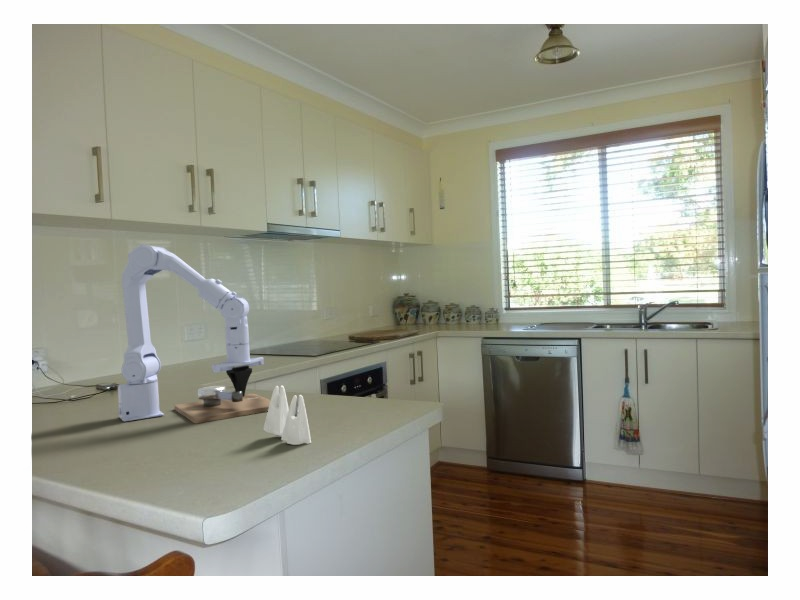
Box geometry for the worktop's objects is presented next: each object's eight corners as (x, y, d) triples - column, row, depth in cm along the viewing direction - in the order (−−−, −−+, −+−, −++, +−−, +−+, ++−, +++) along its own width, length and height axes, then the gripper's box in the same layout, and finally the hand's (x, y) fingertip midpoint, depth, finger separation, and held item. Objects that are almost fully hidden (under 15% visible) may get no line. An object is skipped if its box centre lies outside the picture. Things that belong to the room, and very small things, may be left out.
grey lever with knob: (193, 398, 150) (192, 389, 150) (216, 393, 155) (215, 384, 155) (228, 404, 139) (227, 394, 139) (252, 398, 145) (251, 389, 145)
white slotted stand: (262, 438, 118) (259, 385, 118) (279, 433, 121) (277, 382, 121) (295, 447, 110) (292, 391, 109) (312, 442, 113) (310, 387, 112)
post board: (195, 423, 134) (194, 411, 134) (174, 409, 153) (173, 398, 152) (282, 409, 146) (281, 397, 146) (253, 397, 165) (253, 387, 165)
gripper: (222, 347, 137) (225, 403, 137) (270, 341, 148) (272, 392, 149) (205, 346, 141) (208, 400, 142) (253, 340, 153) (256, 390, 153)
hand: (240, 396), depth 146 cm, fingers closed
